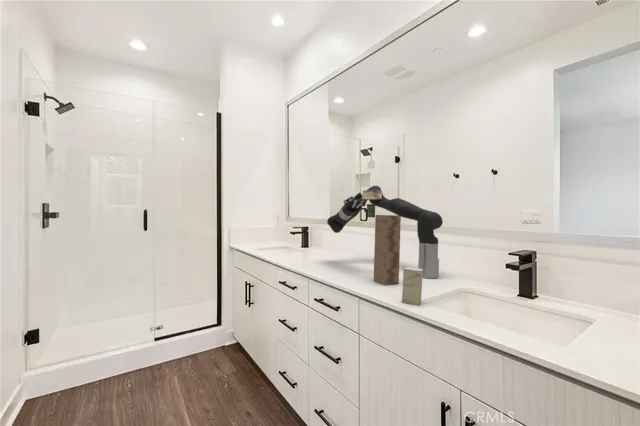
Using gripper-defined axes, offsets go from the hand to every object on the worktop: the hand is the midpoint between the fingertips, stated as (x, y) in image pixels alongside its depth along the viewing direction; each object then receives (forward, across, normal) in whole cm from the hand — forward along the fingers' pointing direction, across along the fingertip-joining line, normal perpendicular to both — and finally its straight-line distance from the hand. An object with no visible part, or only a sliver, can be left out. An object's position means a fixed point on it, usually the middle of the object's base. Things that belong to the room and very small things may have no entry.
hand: (363, 194), depth 150 cm
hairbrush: (+1, 0, +4) cm, 4 cm away
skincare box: (+19, -9, +59) cm, 63 cm away
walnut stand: (-4, +1, +45) cm, 45 cm away
